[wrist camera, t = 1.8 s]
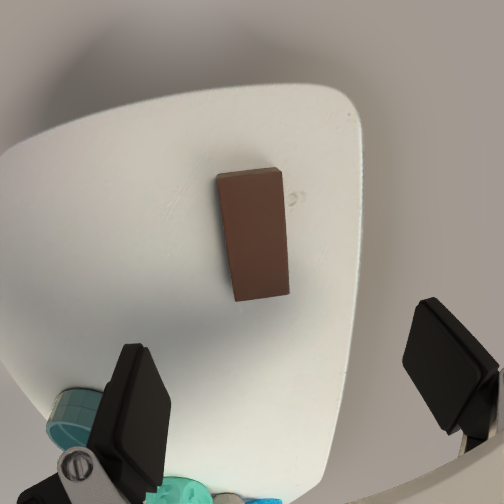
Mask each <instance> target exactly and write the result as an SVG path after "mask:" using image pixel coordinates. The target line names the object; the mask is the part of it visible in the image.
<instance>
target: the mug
mask: <svg viewBox="0 0 504 504" xmlns="http://www.w3.org/2000/svg"><path fill="white" fill-rule="evenodd" d="M245 504H282V500H279V499H260V500H254V501H249V502H246V503H245Z"/></svg>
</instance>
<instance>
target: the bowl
mask: <svg viewBox="0 0 504 504" xmlns="http://www.w3.org/2000/svg"><path fill="white" fill-rule="evenodd" d="M102 395H103V393H100V392H97V391H92V390H87V389H73V390H68V391H64V392H62V393H61V394H60V395H59V396H58V397H57V400H56V402H55V405H54V407H53V409H52V412H51V414H50V417H49V419H48V422H47V425H46V432H47V434H48V436H49V438H50V439H51V440H52V442H54V444H56V445H57V447H59V448H60V449H61V450H63V451H66V450H67V449H69V448H72V447H76V446H82V447H85V448H86V445H87V441H88V438H89V435H90V431H91V428H92V425H93V422H94V419H95V416H96V412H97V409H98V406H99V403H100V401H101V398H102Z"/></svg>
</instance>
